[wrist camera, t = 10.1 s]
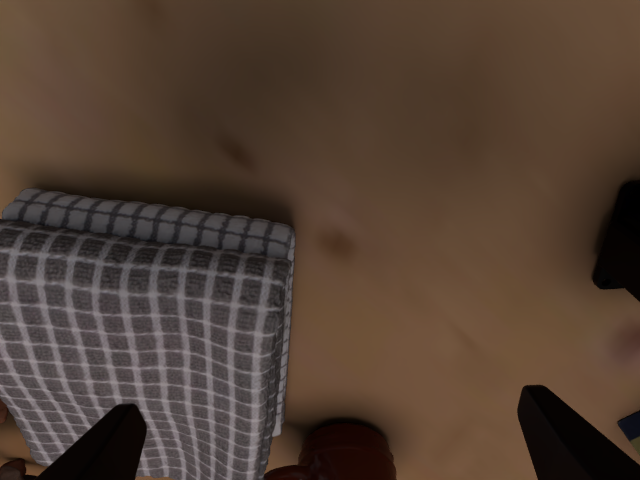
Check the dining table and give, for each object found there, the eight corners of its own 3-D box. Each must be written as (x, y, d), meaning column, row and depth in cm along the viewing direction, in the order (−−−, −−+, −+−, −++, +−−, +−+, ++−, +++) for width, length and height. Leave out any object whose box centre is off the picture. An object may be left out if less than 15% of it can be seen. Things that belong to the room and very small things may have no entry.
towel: (305, 205, 21) (292, 293, 14) (285, 416, 30) (271, 532, 24) (23, 174, 21) (-128, 251, 14) (89, 399, 30) (17, 511, 23)
